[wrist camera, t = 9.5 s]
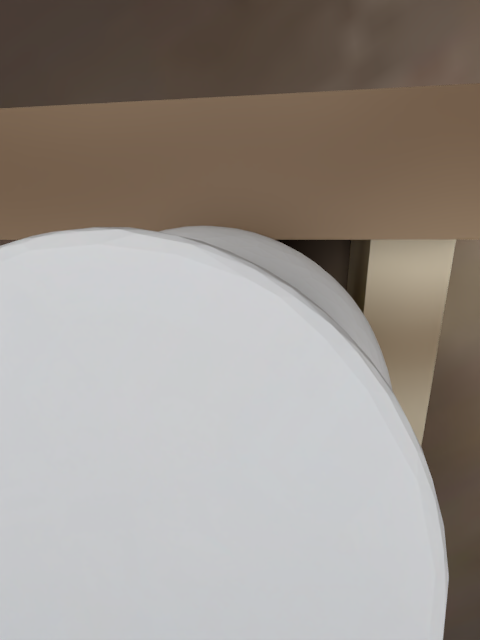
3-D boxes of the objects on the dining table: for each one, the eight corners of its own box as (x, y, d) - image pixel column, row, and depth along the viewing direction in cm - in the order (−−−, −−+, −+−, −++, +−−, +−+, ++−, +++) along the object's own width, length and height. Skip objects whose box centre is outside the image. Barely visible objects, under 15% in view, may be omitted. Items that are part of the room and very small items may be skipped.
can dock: (382, 482, 13) (462, 683, 7) (118, 459, 14) (8, 615, 9) (428, 144, 10) (638, 27, 4) (80, 155, 11) (-137, 80, 5)
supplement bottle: (185, 439, 12) (-215, 1001, 2) (157, 292, 12) (-371, 200, 2) (336, 416, 11) (706, 1048, 2) (307, 261, 11) (497, -54, 2)
